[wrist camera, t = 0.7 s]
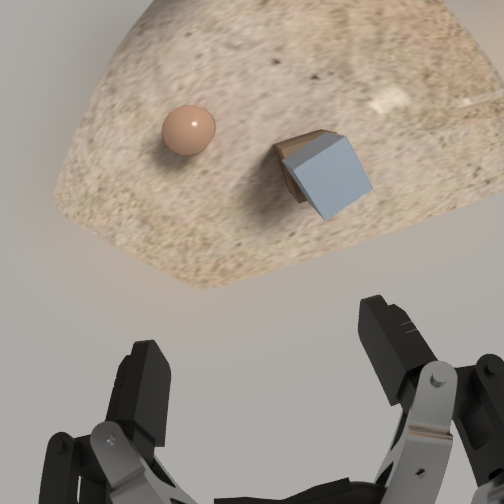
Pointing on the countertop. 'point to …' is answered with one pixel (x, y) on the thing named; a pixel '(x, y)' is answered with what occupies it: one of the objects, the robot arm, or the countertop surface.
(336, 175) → the tower top
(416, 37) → the countertop surface
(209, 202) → the countertop surface
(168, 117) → the tan rounded cylinder
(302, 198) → the tower base
